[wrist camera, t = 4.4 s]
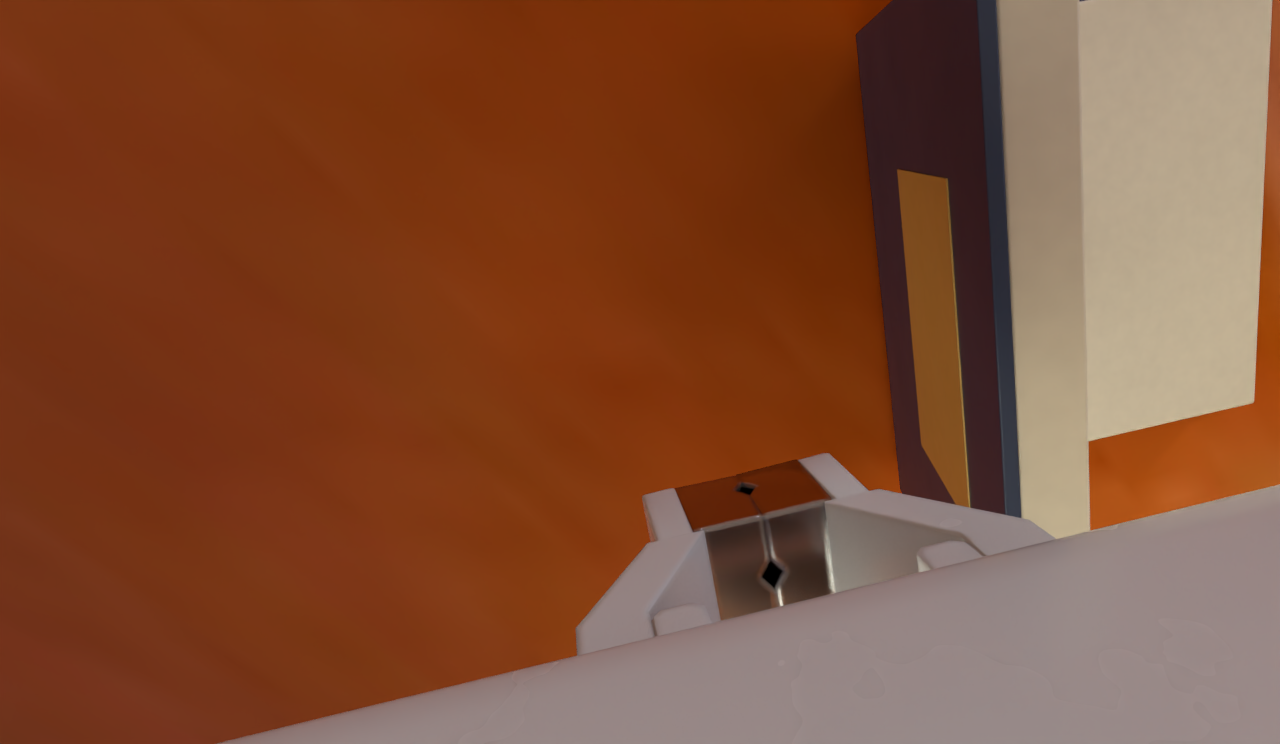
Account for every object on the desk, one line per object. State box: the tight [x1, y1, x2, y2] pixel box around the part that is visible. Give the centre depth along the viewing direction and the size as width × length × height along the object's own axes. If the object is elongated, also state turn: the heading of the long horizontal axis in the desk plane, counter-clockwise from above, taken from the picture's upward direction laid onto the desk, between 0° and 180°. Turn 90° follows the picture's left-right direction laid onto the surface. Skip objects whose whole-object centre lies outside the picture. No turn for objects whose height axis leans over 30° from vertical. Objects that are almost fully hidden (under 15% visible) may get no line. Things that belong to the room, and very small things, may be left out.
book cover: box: [856, 0, 1090, 539], centre depth 19 cm, size 13×16×2 cm
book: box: [1079, 0, 1272, 441], centre depth 27 cm, size 13×16×2 cm
